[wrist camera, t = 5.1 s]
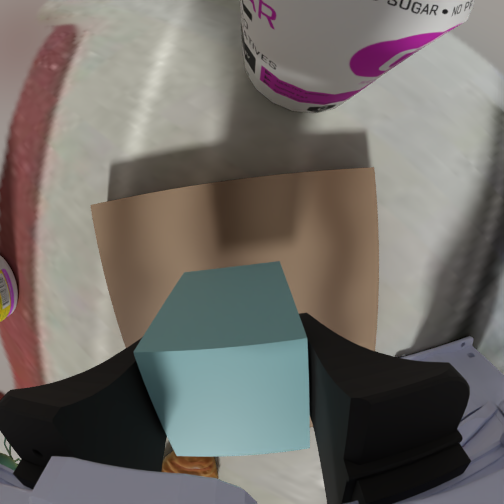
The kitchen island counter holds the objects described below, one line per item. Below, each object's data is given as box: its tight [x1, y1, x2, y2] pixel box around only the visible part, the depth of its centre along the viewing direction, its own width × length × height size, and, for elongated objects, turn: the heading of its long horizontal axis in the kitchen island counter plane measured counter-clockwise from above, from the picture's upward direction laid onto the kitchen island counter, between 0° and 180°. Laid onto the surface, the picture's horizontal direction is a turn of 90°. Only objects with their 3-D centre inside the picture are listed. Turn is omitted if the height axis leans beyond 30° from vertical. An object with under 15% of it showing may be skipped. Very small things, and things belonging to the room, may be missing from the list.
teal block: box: [133, 261, 310, 457], centre depth 11 cm, size 4×4×7 cm
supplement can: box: [240, 0, 475, 113], centre depth 10 cm, size 8×8×15 cm
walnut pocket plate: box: [91, 167, 379, 427], centre depth 21 cm, size 18×20×2 cm
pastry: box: [162, 450, 218, 479], centre depth 25 cm, size 9×7×4 cm
